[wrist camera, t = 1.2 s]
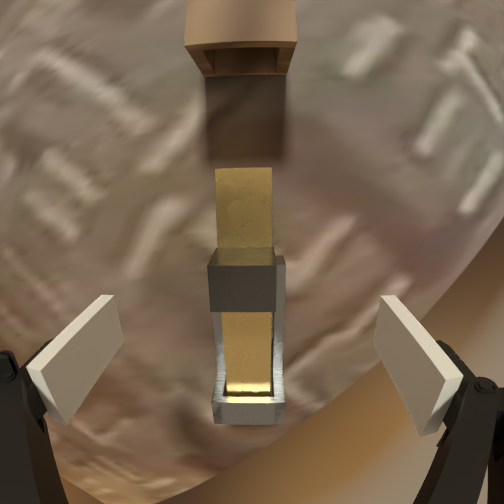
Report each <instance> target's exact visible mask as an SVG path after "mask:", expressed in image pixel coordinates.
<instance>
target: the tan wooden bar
mask: <svg viewBox="0 0 504 504" xmlns="http://www.w3.org/2000/svg"><path fill="white" fill-rule="evenodd" d="M215 188H216V218H217V242H218V248H216V249H215V251H214V253H213V255H212V258H211V260H210V262H209V264H208V266H207V268H208V283H209V297H210V310H211V312H221V316H222V331H223V345H224V359H225V371H226V384H227V395H228V397H270V372H271V316H272V312H276V285H277V264H276V258H275V253H274V247H272V168H271V167H244V168H218V169H215Z"/></svg>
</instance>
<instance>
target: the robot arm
mask: <svg viewBox="0 0 504 504" xmlns="http://www.w3.org/2000/svg"><path fill="white" fill-rule="evenodd" d="M123 343H124V339H123V335H122V331H121V326H120V322H119V317H118V312H117V307H116V302H115V297H114V295H101V296H100V297H99V298H98V299H96V300H95V301H94V302H93V303H92V304H91V305H90V306H89V307H88V308H87V309H85V310H84V311H83V312H82V313H81V314H80V315H79V316H78V317H77V318H76V319H75V320H74V321H72V322H71V323H70V324H69V325H68V326H67V327H66V328H65V329H64V330H63V331H62V332H61V333H60V334H59V335H58V336H57V337H55V338H53V339H51V340H49V341H48V342H46V343H45V344H44V345H43V346H42V347H41V348H40V350H38V351H37V352H36V353H35V354H34V355H33V356H32V357H31V358H30V359H29V360H28V361H27V362H26V363H25V364H24V365H23V366H22V367H21V368H19V366H18V364H17V361H16V359H15V356H14V354H13V353H12V352H11V351H7V350H4V351H0V504H69V503H68V501H67V498H66V495H65V492H64V489H63V486H62V483H61V480H60V476H59V473H58V469H57V466H56V462H55V459H54V455H53V451H52V447H51V443H50V438H49V434H48V429H47V424H46V421H45V419H44V417H43V415H44V414H45V413H46V411H47V412H48V414H49V415H50V417H51V419H52V421H54V422H57V423H60V424H63V425H66V426H67V425H68V423H69V422H70V420H71V419H72V417H73V416H74V414H75V412H76V411H77V409H78V408H79V406H80V405H81V403H82V402H83V400H84V399H85V397H86V396H87V394H88V393H89V391H90V390H91V388H92V387H93V386H94V384H95V383H96V381H97V380H98V378H99V377H100V375H101V374H102V372H103V371H104V370H105V368H106V367H107V365H108V364H109V362H110V361H111V360H112V358H113V357H114V355H115V354H116V352H117V351H118V350H119V348H120V347H121V345H122V344H123ZM373 346H374V348H375V350H376V351H377V353H378V355H379V357H380V359H381V361H382V362H383V364H384V366H385V368H386V370H387V372H388V374H389V376H390V377H391V379H392V381H393V383H394V385H395V387H396V389H397V391H398V393H399V395H400V397H401V398H402V401H403V403H404V404H405V407H406V408H407V410H408V413H409V414H410V416H411V419H412V420H413V423H414V425H415V426H416V429H417V430H418V433H419V435H420V436H424V435H428V434H431V433H435V432H437V431H438V429H439V427H440V425H441V424H442V422H444V424H445V425H446V427H447V428H446V430H445V432H444V434H443V436H442V438H441V439H440V441H439V443H438V444H437V447H438V450H437V452H436V455H435V457H434V460H433V462H432V465H431V467H430V469H429V472H428V474H427V476H426V478H425V480H424V482H423V484H422V486H421V489H420V491H419V493H418V495H417V497H416V499H415V500H414V502H413V504H477V501H478V498H479V494H480V491H481V488H482V484H483V480H484V477H485V473H486V469H487V465H488V500H487V504H504V388H498V386H497V385H496V384H495V382H493V381H492V380H490V379H488V378H485V377H475V375H474V374H473V373H472V372H471V371H470V369H469V368H468V367H467V366H466V365H465V363H464V362H463V361H462V360H460V358H459V356H458V355H457V354H455V352H454V351H453V349H452V348H451V347H450V346H449V345H447V344H445V343H444V342H442V341H440V340H439V341H435V340H434V339H433V338H432V337H431V336H430V335H429V333H428V332H427V331H426V330H425V329H424V328H423V326H422V325H421V324H420V323H419V322H418V321H417V320H416V318H415V317H414V316H413V315H412V314H411V313H410V312H409V311H408V309H407V308H406V307H405V306H404V305H403V304H402V303H401V302H400V301H399V299H398V298H397V297H396V296H395V295H390V296H381V298H380V304H379V311H378V317H377V322H376V328H375V333H374V338H373Z"/></svg>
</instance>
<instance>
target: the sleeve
mask: <svg viewBox="0 0 504 504" xmlns="http://www.w3.org/2000/svg"><path fill="white" fill-rule="evenodd" d="M275 258H276V264H277V285H276V312H272V316H271V372H270V382H272V395H273V397H228V395H227V384H226V371H225V359H224V345H223V331H222V316H221V312H212V313H213V326H214V338H215V349H216V360H217V375H216V380H215V385H214V391H213V396H212V401H211V403H212V410H213V417H214V424H238V425H274V424H284V414H285V394H284V384H283V374H282V362H283V338H284V310H285V273H286V264H285V260H284V257H283V256H275Z"/></svg>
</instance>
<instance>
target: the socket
mask: <svg viewBox="0 0 504 504" xmlns="http://www.w3.org/2000/svg"><path fill="white" fill-rule="evenodd" d="M296 44H297V31H296V16H295V3H294V0H187V3H186V18H185V37H184V46H185V48H186V49H187V51H188V52H189V54H190V55H191V57H192V58H193V60H194V62H195V63H196V65H197V66H198V68H199V69H200V71H201V72H202V74H203V76H204V77H218V76H237V75H287V71H288V68H289V65H290V62H291V59H292V56H293V53H294V50H295V47H296Z"/></svg>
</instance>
